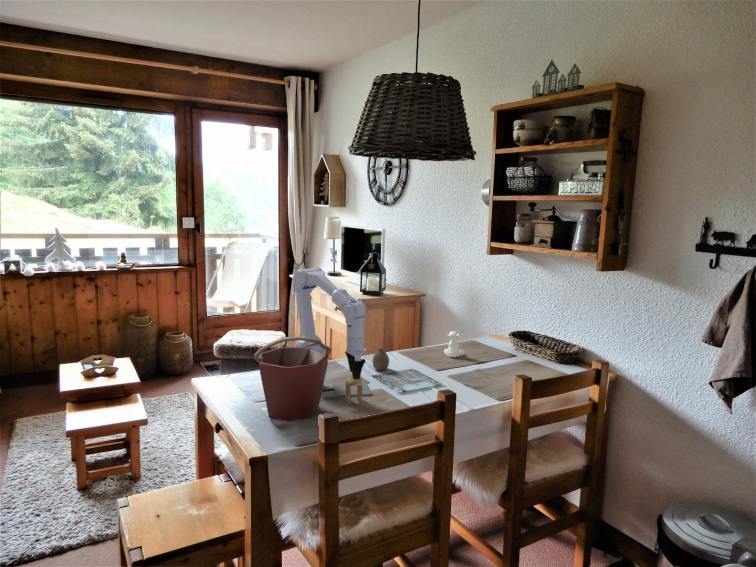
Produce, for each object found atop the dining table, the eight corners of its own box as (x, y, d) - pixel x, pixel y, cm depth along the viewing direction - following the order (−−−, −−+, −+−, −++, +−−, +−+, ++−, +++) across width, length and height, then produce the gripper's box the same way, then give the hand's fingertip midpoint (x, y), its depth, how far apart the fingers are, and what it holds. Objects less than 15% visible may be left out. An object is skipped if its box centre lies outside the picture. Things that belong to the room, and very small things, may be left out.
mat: (336, 396, 181) (336, 395, 181) (333, 385, 192) (333, 384, 192) (372, 395, 184) (372, 393, 184) (367, 384, 194) (367, 382, 194)
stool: (347, 404, 175) (347, 382, 173) (345, 399, 180) (345, 377, 178) (361, 404, 176) (362, 382, 174) (359, 398, 180) (360, 377, 179)
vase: (387, 373, 208) (387, 352, 207) (370, 371, 209) (371, 350, 208) (390, 367, 215) (390, 347, 213) (374, 366, 216) (374, 346, 215)
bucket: (331, 398, 180) (333, 329, 176) (327, 426, 158) (329, 348, 154) (261, 397, 179) (261, 328, 175) (248, 425, 157) (247, 346, 153)
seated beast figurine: (464, 354, 237) (466, 329, 235) (463, 359, 228) (464, 333, 227) (444, 352, 239) (445, 327, 237) (442, 357, 231) (443, 332, 229)
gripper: (370, 342, 168) (369, 381, 170) (363, 331, 182) (362, 368, 184) (349, 342, 167) (348, 382, 169) (343, 331, 181) (343, 368, 183)
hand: (354, 375), depth 176 cm, fingers open, 7 cm apart
